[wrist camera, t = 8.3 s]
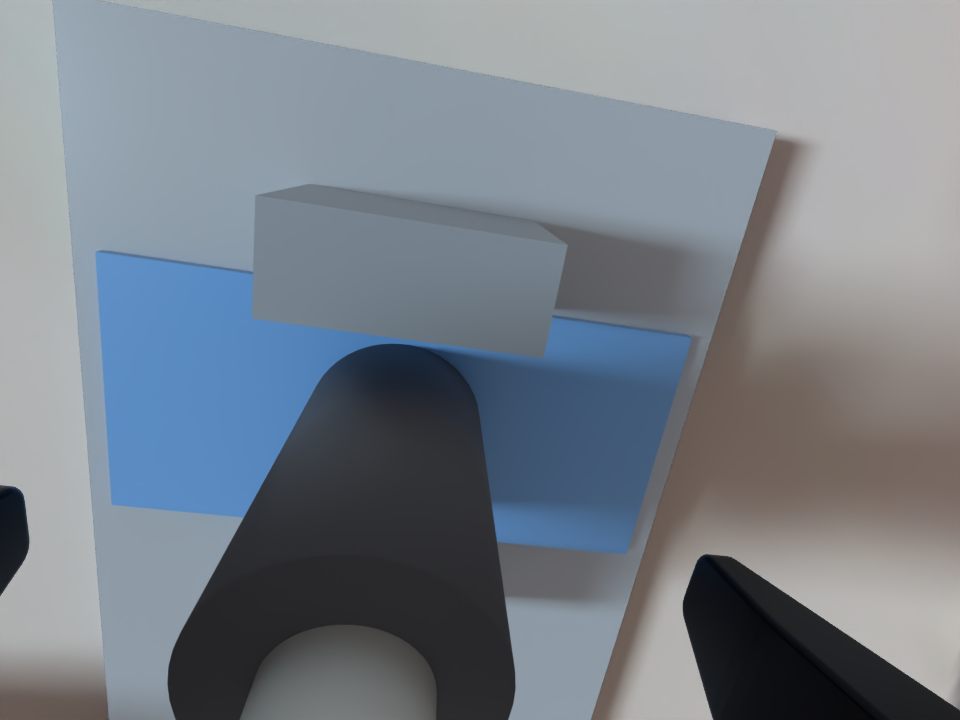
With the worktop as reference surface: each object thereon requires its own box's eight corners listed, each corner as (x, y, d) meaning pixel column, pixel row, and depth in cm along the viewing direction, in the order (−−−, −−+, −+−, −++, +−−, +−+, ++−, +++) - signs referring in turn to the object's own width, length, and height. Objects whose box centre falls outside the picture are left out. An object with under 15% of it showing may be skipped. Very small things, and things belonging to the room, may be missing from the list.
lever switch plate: (137, 799, 16) (43, 994, 12) (90, 6, 10) (-140, -89, 6) (542, 815, 17) (570, 996, 14) (748, 133, 11) (909, 121, 7)
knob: (303, 488, 12) (6, 1195, 4) (313, 332, 10) (-83, 870, 3) (465, 504, 12) (510, 1176, 4) (492, 355, 11) (623, 887, 3)
